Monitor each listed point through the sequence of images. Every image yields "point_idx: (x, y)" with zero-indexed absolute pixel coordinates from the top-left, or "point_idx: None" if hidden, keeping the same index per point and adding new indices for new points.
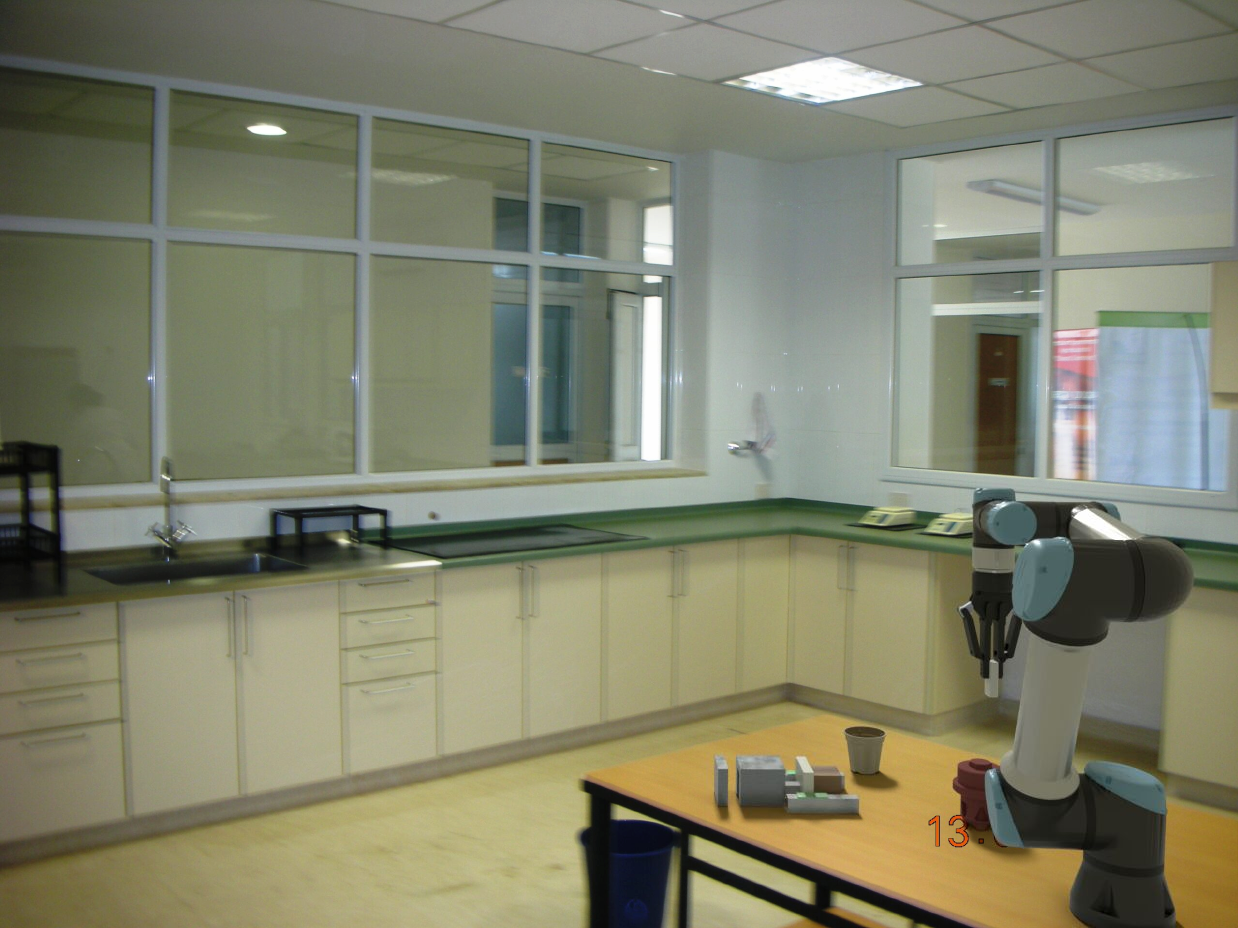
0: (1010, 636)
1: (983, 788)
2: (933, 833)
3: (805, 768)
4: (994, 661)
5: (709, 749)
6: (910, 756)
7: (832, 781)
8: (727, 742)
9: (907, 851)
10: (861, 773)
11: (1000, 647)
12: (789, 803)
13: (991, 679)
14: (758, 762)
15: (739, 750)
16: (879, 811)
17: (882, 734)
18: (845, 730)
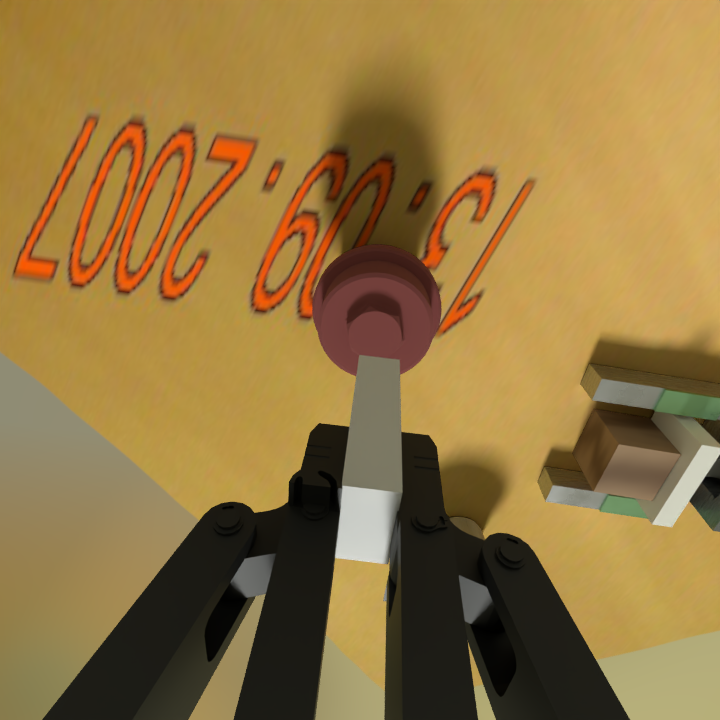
0: (152, 718)
1: (394, 264)
2: (499, 248)
3: (701, 467)
4: (352, 515)
5: (664, 635)
6: (346, 568)
7: (631, 439)
8: (616, 652)
9: (615, 160)
10: (472, 520)
11: (306, 595)
12: None
13: (394, 413)
14: None
15: (618, 625)
16: (541, 367)
17: None
18: None
